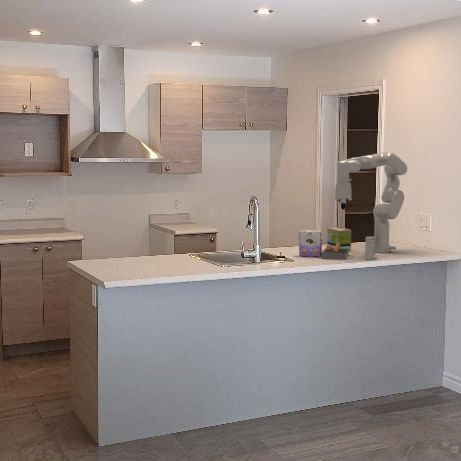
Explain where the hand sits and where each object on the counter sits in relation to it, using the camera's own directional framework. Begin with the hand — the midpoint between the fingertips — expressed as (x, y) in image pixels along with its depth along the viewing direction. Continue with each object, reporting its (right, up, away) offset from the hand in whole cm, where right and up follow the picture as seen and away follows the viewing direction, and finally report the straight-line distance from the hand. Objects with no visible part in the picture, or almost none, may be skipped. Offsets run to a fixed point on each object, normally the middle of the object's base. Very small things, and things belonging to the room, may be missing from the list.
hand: (343, 209), depth 461 cm
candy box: (-21, -30, +2) cm, 36 cm away
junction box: (+16, -30, -7) cm, 35 cm away
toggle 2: (-3, -25, +3) cm, 25 cm away
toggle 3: (-6, -26, -7) cm, 28 cm away
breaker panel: (-5, -30, -1) cm, 30 cm away
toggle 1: (-10, -25, -1) cm, 27 cm away
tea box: (+1, -27, +28) cm, 39 cm away
